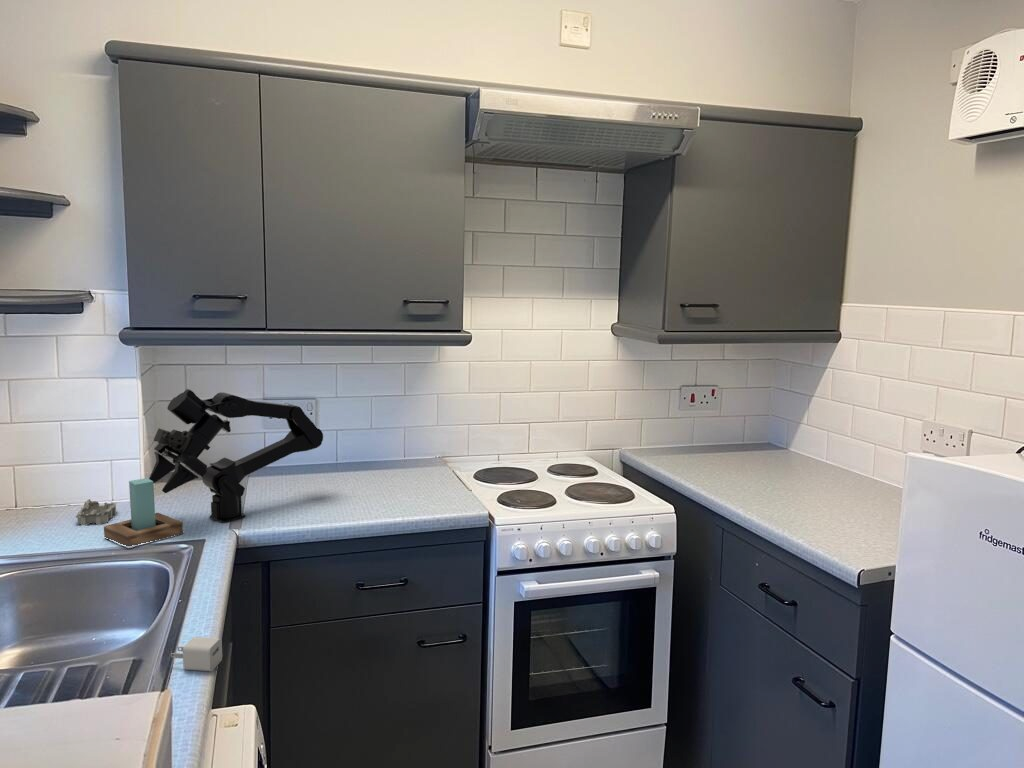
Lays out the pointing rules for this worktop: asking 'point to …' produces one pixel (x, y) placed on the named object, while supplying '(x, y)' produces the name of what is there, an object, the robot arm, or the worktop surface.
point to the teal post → (142, 504)
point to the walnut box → (143, 531)
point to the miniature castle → (95, 512)
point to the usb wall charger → (201, 654)
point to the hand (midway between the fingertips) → (156, 487)
